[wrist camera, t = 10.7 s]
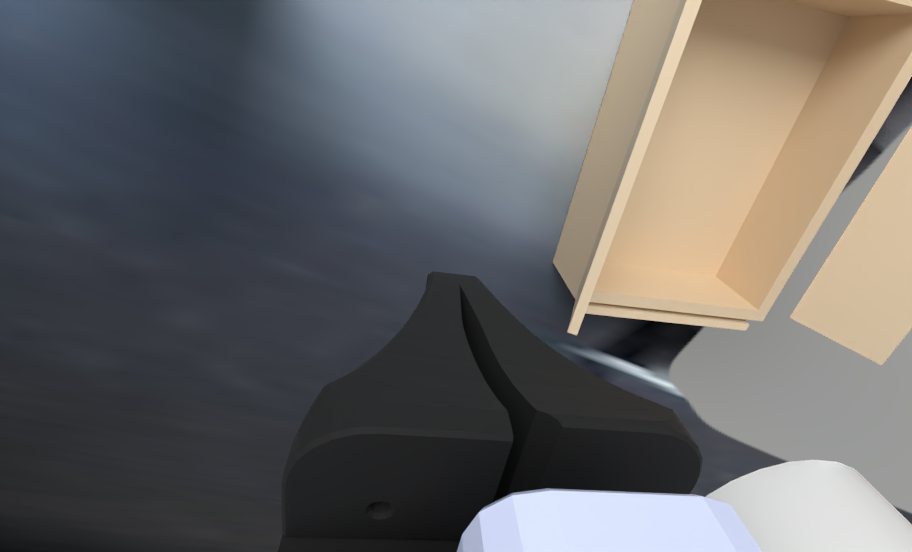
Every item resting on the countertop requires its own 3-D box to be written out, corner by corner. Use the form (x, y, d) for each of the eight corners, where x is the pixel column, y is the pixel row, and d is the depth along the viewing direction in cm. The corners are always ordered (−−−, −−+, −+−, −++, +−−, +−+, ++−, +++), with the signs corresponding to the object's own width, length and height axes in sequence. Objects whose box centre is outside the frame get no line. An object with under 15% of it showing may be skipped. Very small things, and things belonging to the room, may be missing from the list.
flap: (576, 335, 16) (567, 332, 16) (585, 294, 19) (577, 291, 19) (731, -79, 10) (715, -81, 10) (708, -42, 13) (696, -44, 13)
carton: (711, 292, 26) (758, 332, 22) (549, 272, 24) (571, 312, 21) (870, -13, 19) (976, -25, 15) (655, -69, 17) (716, -96, 14)
